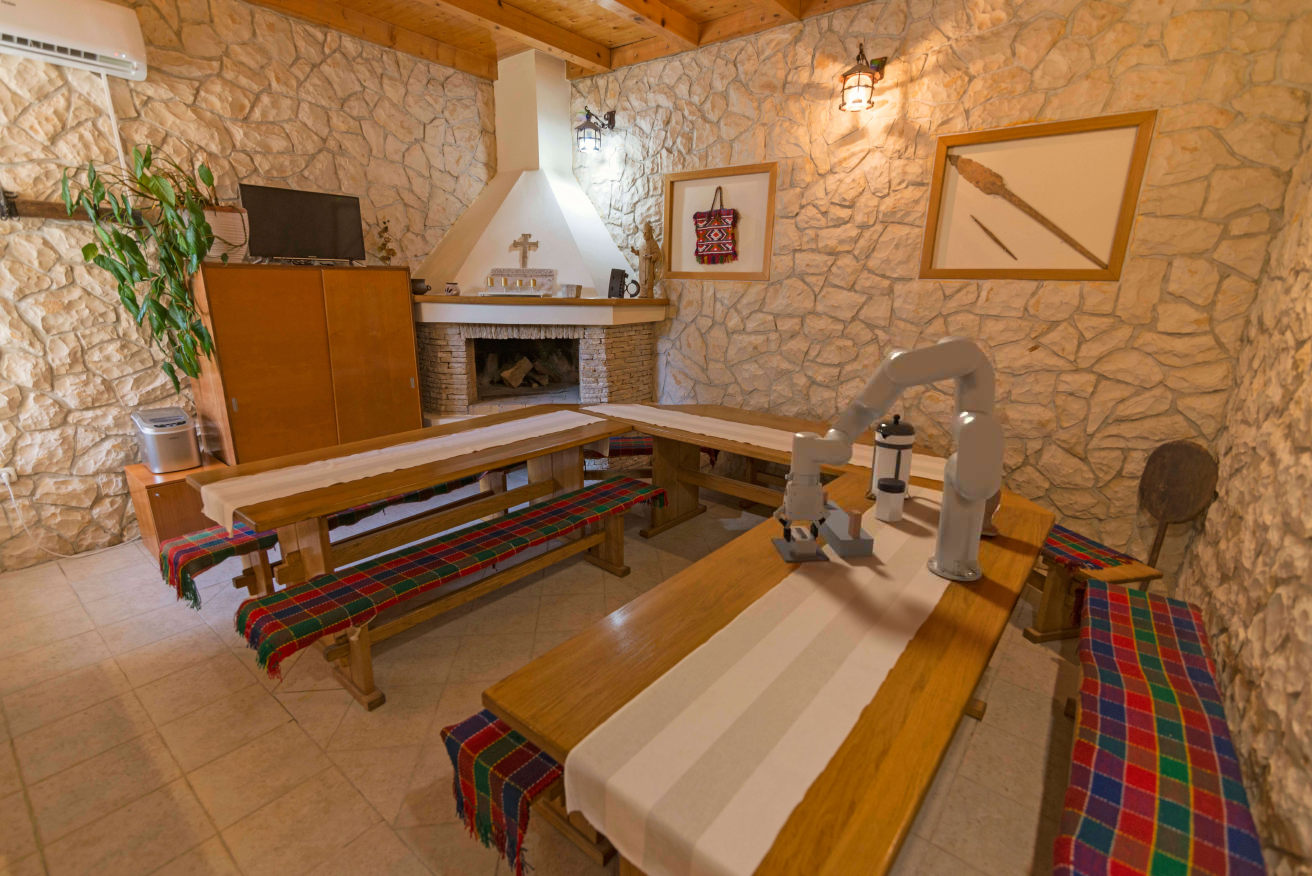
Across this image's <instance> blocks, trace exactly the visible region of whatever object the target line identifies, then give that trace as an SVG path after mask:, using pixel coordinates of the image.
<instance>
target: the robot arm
mask: <svg viewBox="0 0 1312 876" xmlns="http://www.w3.org/2000/svg"><path fill="white" fill-rule="evenodd" d="M951 379H953V384H954V402H953V411H952V419H951V428H950V429H951V434H952V437H953V439H954V440H955V441H956V442H957V445H956V446H957V449H956V450H957V451H955V452H954V453H952V454H950V456H949V457H948V458H947V460H946V463H945V465H944V469H943V486H942V487H943V489H942V501H941V507H940V513H939V520H938V526H937V527H938V528H937V535H936V543H935V549H934V555H932V556H930V557H928V558H927V560H926V567H927V568H928V569H929V571H931V572H933V573H934V574H936V575H938V576H940V577H943V578H945V579H949V580H953V581H959V582H960V581H961V582H973V581H977V580H979V579H981V578H982V576H983V571H982V569H981V567H980V566H979V561H977V560H978V556H979V547H980V541H981V530H982V524H983V517H984V512H985V504H986V500H987V499H989V498H991V497H992V496H993V495H994V494H995V493H996V492H997V490H998V489H1000V485H1001V482H1002V478H1003V467H1004V461H1005V450H1006V449H1005V448H1006V434H1005V429H1004V427H1003V425H1002V423H1001V422H1000V421H999V420H998V419H997V418H996V416H995V409H996V408H995V405H996V387H997V385H996V382H997V381H996V374H995V370H994V367H993V364H992V363H991V360H990V359H989V357H988V355H986V353H985V352H984V351H983V349H981V348H980V346H979V345H978V344H977V343H976V342H975V341H973V340H972V339H970V338H966V337H964V336H961V335H957V334H955V335H946V336H944V337H942V338H941V339H939V341H937V342H936V344H933V345H928V346H924V347H919V348H918V347H917V348H914V349H911V348H910V349H909V348H907V347H906V348H905V347H900V348H895V349H893V350H892V351H891V352H889V353H888V354H887V355H886V357H885V358H884V359H883V360H882V362H881V363H880V364H879V365H878V367H877V368H876V369H875V370H874V372H873V373H872V374H871V376H870V377H869V378H868V380H867V381H866V382H865V384H864V385H863V386H862V388H860V390H859V391H858V393H857V394H856V395H855V397H854V398H853V399H852V400H851V401H850V403H849V404H848V406H847V407H845V409H844V410H843V411H842V413H840V415H839V416H838V418H837V419H836V420H835V421H834V423H833V424H832V425H831V426H830V428H829V429H828V430H827V432H826V433H825V435H824V437H822V436H821V435H820V434H819V433H816V432H812V431H799V432H796V433H795V434H794V435H793V437H792V445H791V461H790V462H791V463H790V470H789V473H788V474H784V475H785V476H784V478H785V480H787V484H786V486H785V491H784V494H783V495H784V496H783V501H782V502H783V503H782V505H781V506H780V507H779V508H777V510H775V511H774V512H773V514H772V515H773V517H774V518H775V519H776V520H777V521H778V522H779V524H781V525H782V526H783V531H782V532H783V533H782V535H783V536H782V538H785V539H786V541H787V542H788V543H789V542H790V541H791V528H790V526H792V524H793V522H809V521H812V522H813V523H812V524H810V530H809V531H810V533H811V534H812V535H813V536H814V538H815V539H816V540H817V538H819V533H818V528H820V525H822V524H823V523H824V522H825V520H826V519H827V518H828V517H829V516H830V515H831V513H830V512H829V511H828V510H827V509H826V508H825V507H824V506H823V490H824V489H823V484H822V482H820V475H821V474H820V472H821V464H826V465H830V466H832V467H833V466H834V467H841V466H844V465H847V464H848V463H850V461H851V460H852V458H853V453H854V452H853V445H854V444H855V442H856V441H857V440H858V438H859V437H861V435H862V434H863V432H865V430H867V428H868V427H869V426H870V425H871V424H873V423H874V422H876V421H878V420H880V419H882V418H884V416H886V415H887V414H888V413H889V412H890V410H891V409H892V408H893V406H895V403H896V402H897V401H898V400H899V398H900V397H901V396H902V395H903V393H904V392H906V390H907V388H911V387H919V386H923V385H928V384H934V383H937V382H943V381H946V380H951ZM782 514H783V515H784V516H785V517H784V518H783V517H782V516H781V515H782Z"/></svg>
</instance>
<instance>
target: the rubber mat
mask: <svg viewBox="0 0 1312 876" xmlns="http://www.w3.org/2000/svg"><path fill="white" fill-rule="evenodd" d="M770 540H771V542H772V544H773V545H774V547H775V548H776V550H777V552H778V554H780V556H781V557H782V560H783V561H784V562H785V563H801V562H802V563H804V562H805V563H806V562H830V561H831V558H830V557H829V556H828V555H827V553H825V552H824V550H823V549H822V548H821V547H820V545H819V544H818V543H817V547H816V556H802V557H796V556H795V555H794V554H793V552H792V551H791V549H790V548H789V546H788V545H787V543H786V542H785V538H784V537H777V538H776V537H774V538H770Z"/></svg>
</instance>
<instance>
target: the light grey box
mask: <svg viewBox="0 0 1312 876" xmlns="http://www.w3.org/2000/svg"><path fill="white" fill-rule="evenodd" d="M790 528H791V541H790V542H789V543H788V542H787V541H786V539H785V542H786V543H787V545H788V546H789V548H790V549H791V551H792V552H793V554H794V555H795V556H796V557H802V556H816V547H817V544H818V540H817V538H816V539H815V538H814V536H813V535H812V534H811V533H810V530H809V529H808V527H807V526H806V525H791V526H790Z"/></svg>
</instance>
